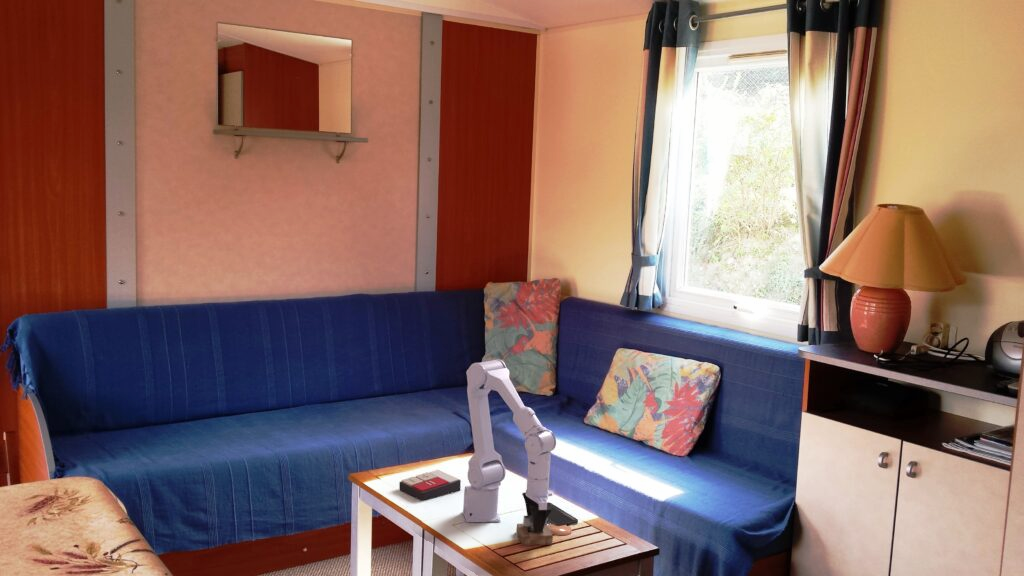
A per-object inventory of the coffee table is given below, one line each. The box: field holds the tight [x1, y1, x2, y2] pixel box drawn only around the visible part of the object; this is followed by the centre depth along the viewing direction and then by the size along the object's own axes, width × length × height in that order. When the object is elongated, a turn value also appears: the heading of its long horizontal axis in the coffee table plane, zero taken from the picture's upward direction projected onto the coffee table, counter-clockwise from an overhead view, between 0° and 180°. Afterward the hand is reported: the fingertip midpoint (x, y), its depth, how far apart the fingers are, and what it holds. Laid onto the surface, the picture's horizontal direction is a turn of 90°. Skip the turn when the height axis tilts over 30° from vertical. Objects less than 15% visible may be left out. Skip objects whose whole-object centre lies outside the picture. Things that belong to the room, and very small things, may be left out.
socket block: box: [516, 523, 554, 546], centre depth 236 cm, size 8×8×2 cm
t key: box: [522, 515, 548, 533], centre depth 236 cm, size 6×3×6 cm, turn 101°
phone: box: [547, 501, 579, 526], centre depth 253 cm, size 8×1×15 cm
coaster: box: [547, 523, 573, 536], centre depth 243 cm, size 7×7×1 cm
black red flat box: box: [398, 469, 462, 502], centre depth 266 cm, size 11×4×15 cm
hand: (535, 525), depth 236 cm, fingers open, 7 cm apart
